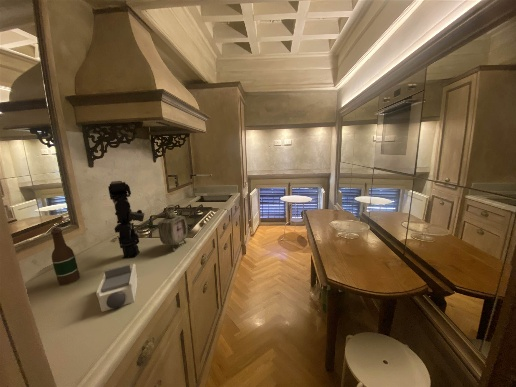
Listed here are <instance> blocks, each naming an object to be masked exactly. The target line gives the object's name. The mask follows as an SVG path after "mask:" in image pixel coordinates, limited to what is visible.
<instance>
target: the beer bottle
mask: <svg viewBox="0 0 516 387" xmlns="http://www.w3.org/2000/svg"><path fill="white" fill-rule="evenodd" d="M50 234H51V236H52V241H53V244H54V246H53V247H54V249H53V251H52V254H51V262H52V265H53V269H54V272H55V276H56V279H57V283H58V285H59V286H66V285H67V286H68V285H70V284H72V283H75V282H77V281H78V280H79V279H80V278H81V277H80V271H79V267H78V263H77V260H76V256H75V252H74V251H73V249H72V247H71V246H69V245H67V243H66V241H65V238H64V236H63V230H62V229H61V228H57V229H54V230H51V231H50Z"/></svg>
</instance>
